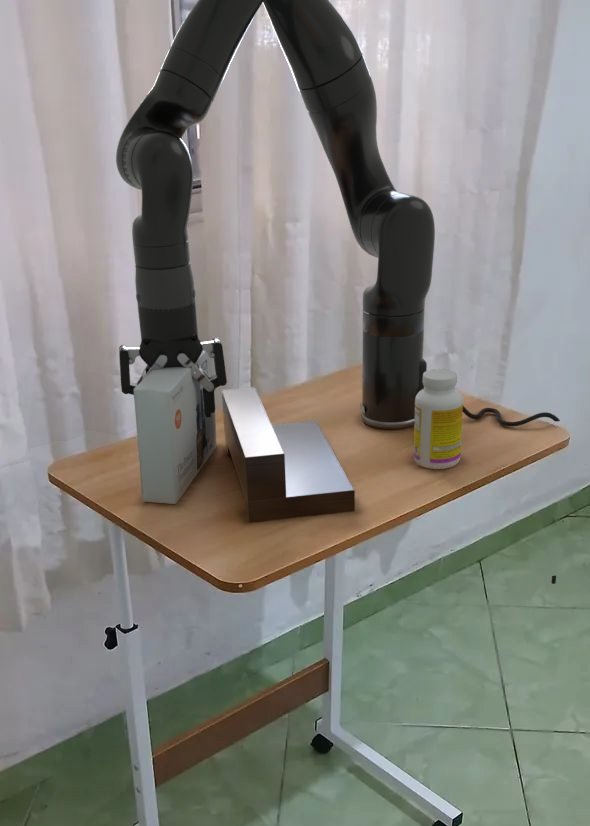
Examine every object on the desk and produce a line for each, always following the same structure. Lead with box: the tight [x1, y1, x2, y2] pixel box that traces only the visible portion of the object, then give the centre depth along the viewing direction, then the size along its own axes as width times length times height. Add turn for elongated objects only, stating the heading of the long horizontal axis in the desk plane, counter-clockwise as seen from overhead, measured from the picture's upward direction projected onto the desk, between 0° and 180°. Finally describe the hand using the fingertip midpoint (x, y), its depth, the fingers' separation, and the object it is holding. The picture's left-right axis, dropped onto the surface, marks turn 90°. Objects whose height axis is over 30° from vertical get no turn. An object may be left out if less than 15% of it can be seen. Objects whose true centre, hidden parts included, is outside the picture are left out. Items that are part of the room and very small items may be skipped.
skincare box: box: [133, 351, 218, 505], centre depth 142 cm, size 21×5×16 cm, turn 168°
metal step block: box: [220, 386, 356, 523], centre depth 142 cm, size 14×26×9 cm, turn 10°
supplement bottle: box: [413, 368, 464, 470], centre depth 144 cm, size 7×7×13 cm
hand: (177, 418), depth 142 cm, fingers open, 8 cm apart
